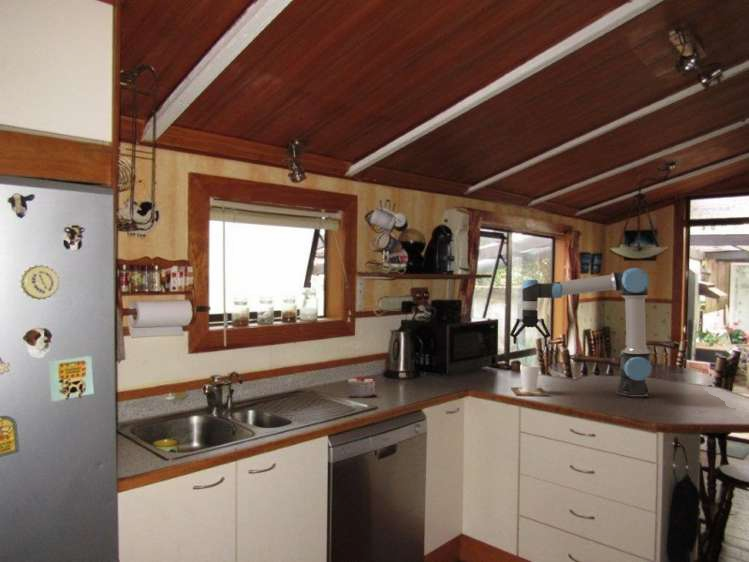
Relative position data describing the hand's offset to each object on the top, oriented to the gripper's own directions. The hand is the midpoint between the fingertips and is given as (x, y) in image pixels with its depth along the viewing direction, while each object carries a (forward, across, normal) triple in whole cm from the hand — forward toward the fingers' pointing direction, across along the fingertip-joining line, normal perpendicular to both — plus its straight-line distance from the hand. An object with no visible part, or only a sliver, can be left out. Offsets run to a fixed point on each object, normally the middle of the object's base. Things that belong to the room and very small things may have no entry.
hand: (529, 350), depth 279 cm
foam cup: (+21, 0, 0) cm, 21 cm away
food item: (+22, +87, +14) cm, 91 cm away
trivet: (+22, 0, 0) cm, 22 cm away
